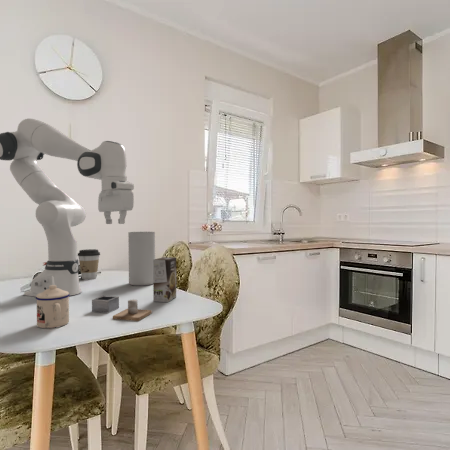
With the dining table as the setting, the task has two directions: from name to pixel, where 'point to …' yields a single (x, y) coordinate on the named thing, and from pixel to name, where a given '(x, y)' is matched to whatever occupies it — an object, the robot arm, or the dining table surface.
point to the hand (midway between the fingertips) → (115, 223)
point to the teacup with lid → (52, 308)
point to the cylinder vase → (141, 257)
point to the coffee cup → (89, 263)
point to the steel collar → (105, 304)
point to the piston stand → (132, 312)
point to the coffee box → (164, 279)
